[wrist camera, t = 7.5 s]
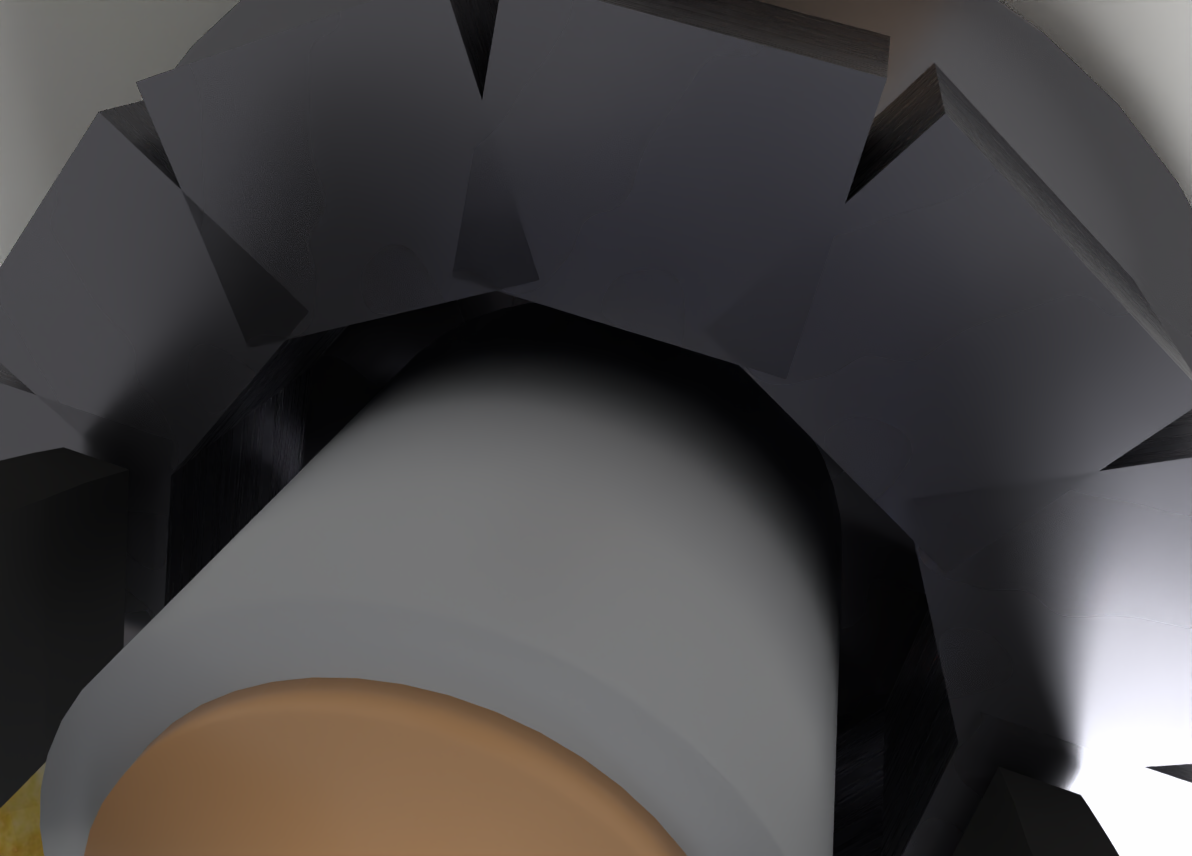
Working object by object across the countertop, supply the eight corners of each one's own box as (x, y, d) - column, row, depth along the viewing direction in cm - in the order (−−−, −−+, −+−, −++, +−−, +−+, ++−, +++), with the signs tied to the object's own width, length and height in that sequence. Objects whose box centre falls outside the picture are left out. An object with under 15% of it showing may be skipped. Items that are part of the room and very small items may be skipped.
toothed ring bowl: (962, 1059, 14) (977, 1341, 11) (98, 736, 15) (-76, 915, 13) (1551, 91, 8) (1868, 179, 6) (116, -271, 10) (-187, -342, 7)
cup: (769, 790, 12) (710, 1348, 7) (337, 661, 13) (29, 1106, 8) (910, 376, 10) (953, 804, 5) (378, 243, 10) (-23, 521, 6)
